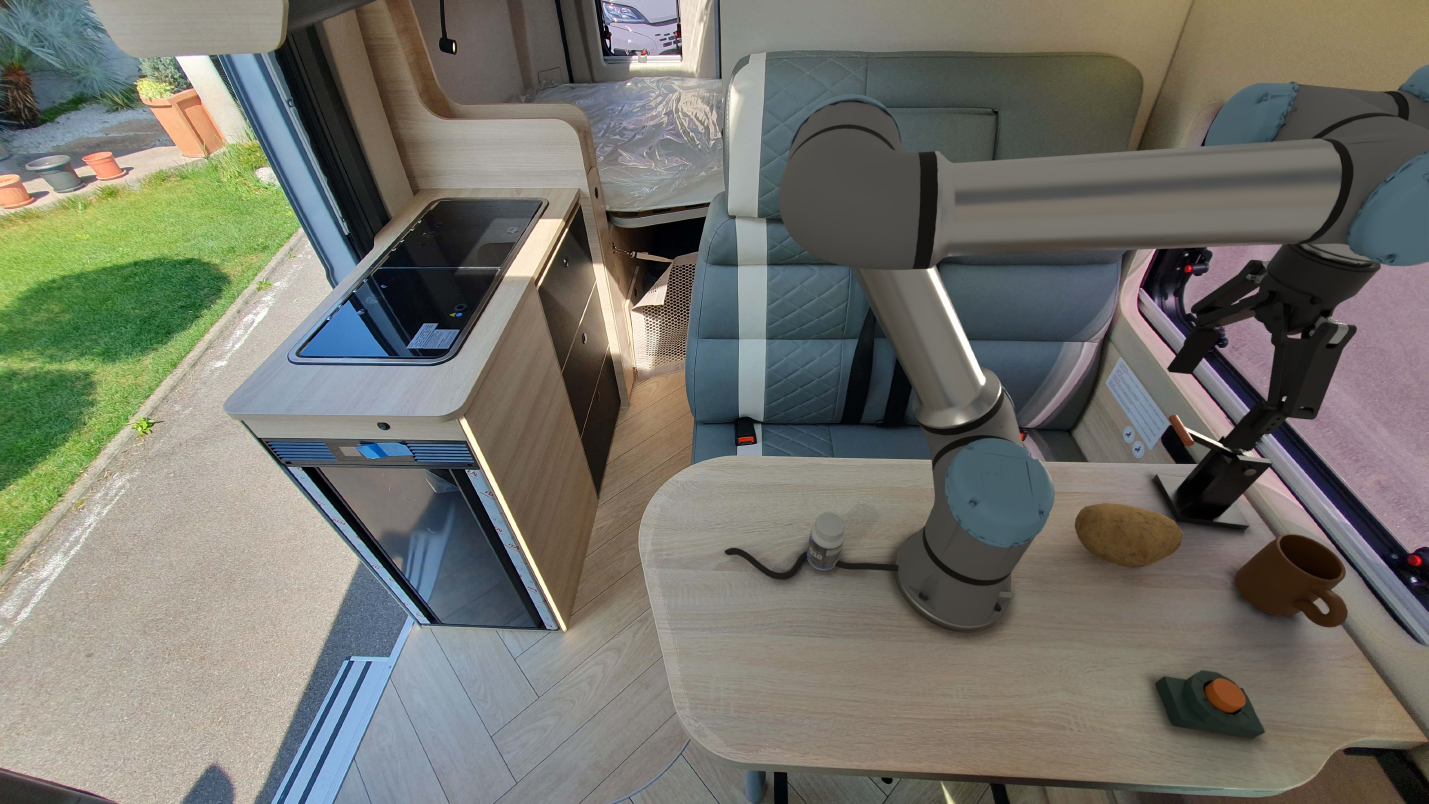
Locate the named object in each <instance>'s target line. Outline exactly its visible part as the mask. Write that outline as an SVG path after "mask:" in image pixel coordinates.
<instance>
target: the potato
mask: <svg viewBox="0 0 1429 804" xmlns="http://www.w3.org/2000/svg"><path fill="white" fill-rule="evenodd" d="M1074 529H1075V532H1076V535H1077V538H1078V540H1079V542H1081V544H1082V546H1083V547H1084V548H1085V549H1086V551H1088V552H1089V553H1091V554H1092V555H1093V556H1095V558H1098V559H1100V560H1101V561H1104V562H1106V563H1109V564H1112V565H1115V566H1120V567H1124V568H1130V569H1136V568H1142V567H1147V566H1150V565H1153V564H1155V563H1158V562H1160V561H1161V560H1163V559H1166V558H1167V557H1170V556H1172V555H1173V554H1174V553H1175V552H1176V551H1178V550H1179V549H1180V547H1181V545H1182V542H1183V538H1184V533H1183V531H1182V530H1181V528H1180V526H1179V525H1178V524H1177V522H1176V520H1175V519H1172V518H1170V517H1168V516H1166V515H1164V514H1162V513H1160V512H1158V511H1154V510H1151V509H1150V510H1149V509H1145V508H1141V507H1137V506H1133V505H1127V504H1121V503H1120V504H1119V503H1109V502H1101V503H1095V504H1090V505H1087V506H1083V508H1082V509H1080V510H1079V512H1078V514H1077V515H1076V517H1075V521H1074Z"/></svg>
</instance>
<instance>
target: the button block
mask: <svg viewBox="0 0 1429 804" xmlns="http://www.w3.org/2000/svg"><path fill="white" fill-rule="evenodd" d="M1216 679H1226V680H1228V681H1230V682H1232V683H1234V684H1235V685H1236V686H1237V687H1239V689H1240V690H1241V691H1242V692H1243V694H1244V696H1245V699H1246V703H1245V705H1244V706H1243V707H1241V708H1240V709H1238V710H1236V711H1235V712H1233V713H1226V712H1223V711H1221V710H1219V709H1217V708H1216V707H1214V706H1213V705H1212V704H1211V703H1210V702H1209V700H1208V699H1207V697H1206V695H1205V687H1206V686H1207V685H1208V684H1210V683H1211V682H1213V681H1214V680H1216ZM1154 684H1155V687H1156V690H1157V692H1158V695H1159V697H1160V699H1161V702H1162V705H1163V707H1164V710H1165V712H1166V715H1167V717H1168V720H1169V722H1170V724H1171V726H1172V727H1176V728H1183V729H1189V730H1196V731H1202V732H1208V733H1213V734H1221V735H1227V736H1233V737H1240V738H1245V739H1252V740H1254V739H1256V738H1257V737H1260V736H1262V735H1263V734H1265V733H1266V731H1265V729H1264V727H1263V725H1262V722H1261V720H1260V719H1259V717H1258V714H1257V712H1256V711H1255V708H1254V706H1253V703H1252V701H1251V700H1250V698H1249V696H1248V695H1247V693H1246V691H1245V689H1244V688H1243V687H1240V686H1239V685H1238V684H1237V683H1236V682H1235V681H1234V680H1232V679H1231V678H1228V676H1225V675H1223V674H1221V673H1219V672H1217V671H1211V670H1205V669H1202V670H1199V671H1198V672H1196V673H1193V674H1192V675H1190V676H1189V677H1188V678H1187V679H1186V678H1179V677H1173V676H1166V675H1164V676H1162V677H1161V678H1159V680H1157V681H1156V682H1154Z"/></svg>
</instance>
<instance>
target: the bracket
mask: <svg viewBox="0 0 1429 804" xmlns="http://www.w3.org/2000/svg"><path fill="white" fill-rule="evenodd" d="M1226 436H1227V435H1222V436H1221V437H1220V438H1219V439H1218V441H1217V442H1218V443H1220V444H1221V442H1222V441H1223V439H1224V438H1225V437H1226ZM1257 445H1258V441H1257V442H1256V443H1255V444H1254V445H1253V446H1252V447H1251V449H1250V451H1251V452H1252V451H1253V450H1254V448H1256V446H1257ZM1272 465H1273V462H1272V460H1271V459H1270V458H1264V457H1257V456H1255V457H1248V456H1240V455H1236V456H1235V457H1234V458H1233V459H1232V461H1231V462H1230V463H1229V464H1228V463H1227V461H1226V460H1225V458H1224V457H1223V456H1222V454H1220V453H1218V452H1216V451H1213V450H1211V449H1209V451H1208V452H1207V454H1206V455H1204V457H1203V458H1202V459H1201V460H1200V461H1199V463H1198V464H1197V465H1196V466H1195V467H1194V468H1193V470H1192V471H1191V472H1190V473H1189V474H1188V475H1187V476H1186V477H1185V476H1177V475H1169V474H1160V473H1156V474H1155V475H1154V477H1153V481H1154V484H1155V486H1156V487H1157V488H1158V490H1159V492H1160V495H1161V496H1162V498H1163V500H1164V503H1166V505H1167V508H1168V509H1169V511H1170V513H1171V515H1172V517H1173V520H1174V521H1175V523H1181V524H1183V523H1184V524H1191V525H1199V526H1208V527H1214V528H1223V529H1229V530H1230V529H1231V530H1239V531H1246V530H1247V529H1248V528H1250V524H1249V522H1248V521H1247V520H1246V518H1245V516H1244V515H1243V513H1242V512H1241V510H1240V508H1239V507H1238V506H1237V504H1236V501H1238V499H1239V498H1240V497H1241V496H1242V495H1244V493H1245V492H1247V490H1248V489H1249V488H1250V487H1251V486H1252V485H1253V484H1254V483H1255V482H1256V481H1257V480H1258V479H1259V478H1260V477H1261V476H1262V475H1264V473H1265V472H1266V471H1267V470H1268V469H1269V468H1270V467H1272Z"/></svg>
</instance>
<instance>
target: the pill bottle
mask: <svg viewBox="0 0 1429 804" xmlns="http://www.w3.org/2000/svg"><path fill="white" fill-rule="evenodd" d="M845 528H846V524H845V521H844V519H843V518H842V517H841V516H840V515H839V514H837V513H835V512H831V511H826V512H822V513H820V514H819V515H818V516H817V517H816V520H815V522H814V523H813V525H812V526H811V529H810V533H809V538H808V542H807V547H806V551H807V559H806V560H807V562H808V563H809V564H810V566H812V567H813V569H816V570H819V571H830V570H832V569H834V568H835V567H836V566H835V564H836V563H837V561H839V559H840V555H841V552H842V549H843V545H844V543H845V537H846V534H845Z"/></svg>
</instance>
